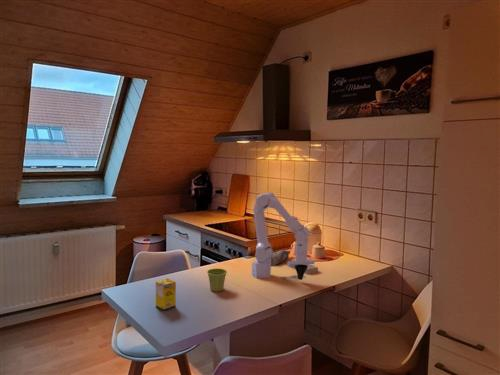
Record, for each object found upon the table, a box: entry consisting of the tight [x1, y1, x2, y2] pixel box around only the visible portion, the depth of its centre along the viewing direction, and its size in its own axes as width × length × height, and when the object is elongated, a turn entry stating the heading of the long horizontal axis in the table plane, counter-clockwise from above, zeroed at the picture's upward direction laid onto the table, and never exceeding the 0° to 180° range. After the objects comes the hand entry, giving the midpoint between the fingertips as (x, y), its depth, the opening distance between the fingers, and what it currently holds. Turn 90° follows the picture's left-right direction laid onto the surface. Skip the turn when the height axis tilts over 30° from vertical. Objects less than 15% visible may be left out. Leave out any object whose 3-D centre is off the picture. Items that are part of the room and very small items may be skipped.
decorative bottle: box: [271, 249, 291, 267], centre depth 225 cm, size 26×8×7 cm, turn 148°
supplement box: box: [155, 278, 177, 312], centre depth 156 cm, size 6×6×11 cm
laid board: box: [280, 274, 306, 281], centre depth 194 cm, size 13×4×1 cm, turn 113°
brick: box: [287, 259, 319, 275], centre depth 208 cm, size 17×8×5 cm, turn 34°
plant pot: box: [206, 268, 228, 292], centre depth 177 cm, size 9×9×9 cm
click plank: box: [285, 277, 308, 282], centre depth 189 cm, size 12×7×1 cm, turn 113°
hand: (300, 279), depth 187 cm, fingers closed
